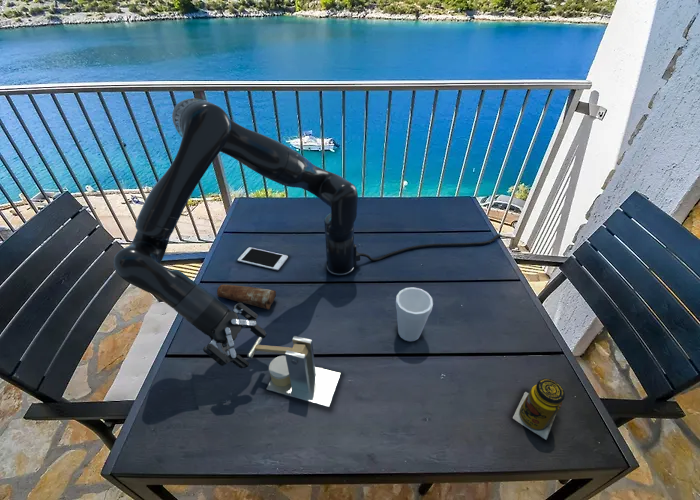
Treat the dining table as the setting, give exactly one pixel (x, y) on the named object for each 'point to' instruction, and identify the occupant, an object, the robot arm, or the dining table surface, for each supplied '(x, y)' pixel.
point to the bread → (248, 295)
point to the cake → (279, 371)
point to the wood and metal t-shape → (276, 348)
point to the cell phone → (263, 258)
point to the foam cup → (412, 312)
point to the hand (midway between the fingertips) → (256, 351)
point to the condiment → (540, 406)
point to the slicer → (307, 377)
